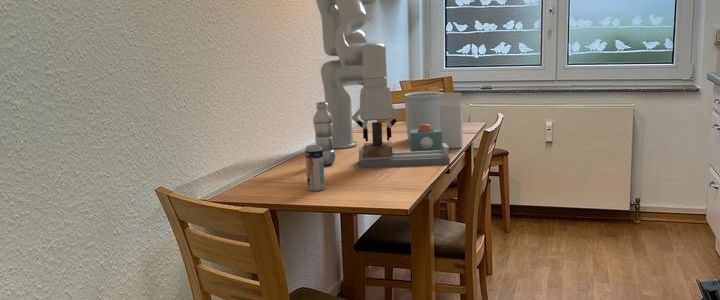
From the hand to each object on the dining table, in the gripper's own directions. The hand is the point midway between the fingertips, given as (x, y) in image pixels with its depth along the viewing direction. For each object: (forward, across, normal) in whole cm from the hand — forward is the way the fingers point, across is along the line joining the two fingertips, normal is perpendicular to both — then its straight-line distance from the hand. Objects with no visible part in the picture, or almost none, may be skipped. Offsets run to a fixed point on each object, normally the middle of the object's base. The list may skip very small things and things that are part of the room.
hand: (377, 140), depth 224 cm
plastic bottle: (+8, -17, +2) cm, 19 cm away
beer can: (+8, -17, -34) cm, 39 cm away
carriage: (+4, 0, 0) cm, 4 cm away
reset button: (+3, +16, +13) cm, 21 cm away
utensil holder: (+8, +18, +45) cm, 49 cm away
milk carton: (+8, +26, +26) cm, 38 cm away
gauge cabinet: (+8, +16, +13) cm, 22 cm away
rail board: (+8, +8, 0) cm, 11 cm away
